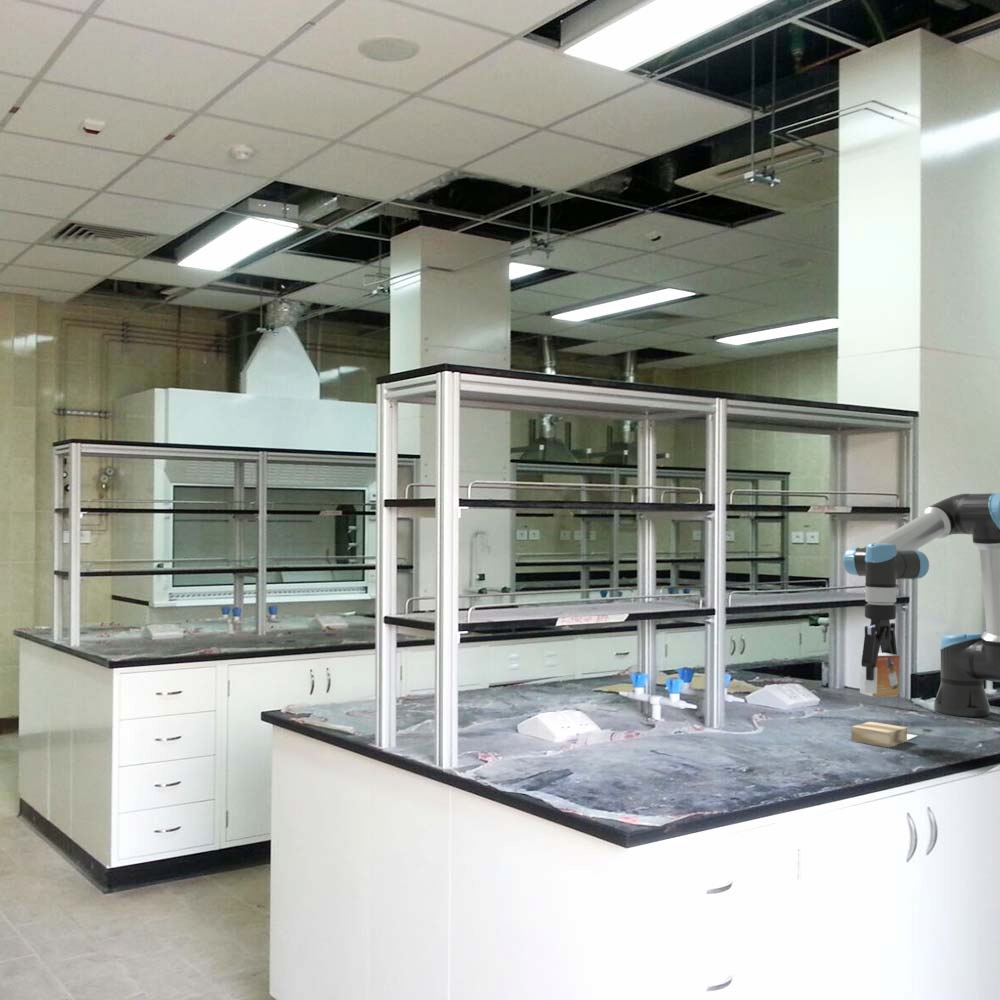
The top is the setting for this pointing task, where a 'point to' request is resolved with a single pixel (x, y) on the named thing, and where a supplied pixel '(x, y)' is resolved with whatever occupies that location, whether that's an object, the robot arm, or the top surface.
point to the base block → (879, 734)
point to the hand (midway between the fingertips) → (879, 690)
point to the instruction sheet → (911, 736)
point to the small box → (883, 675)
